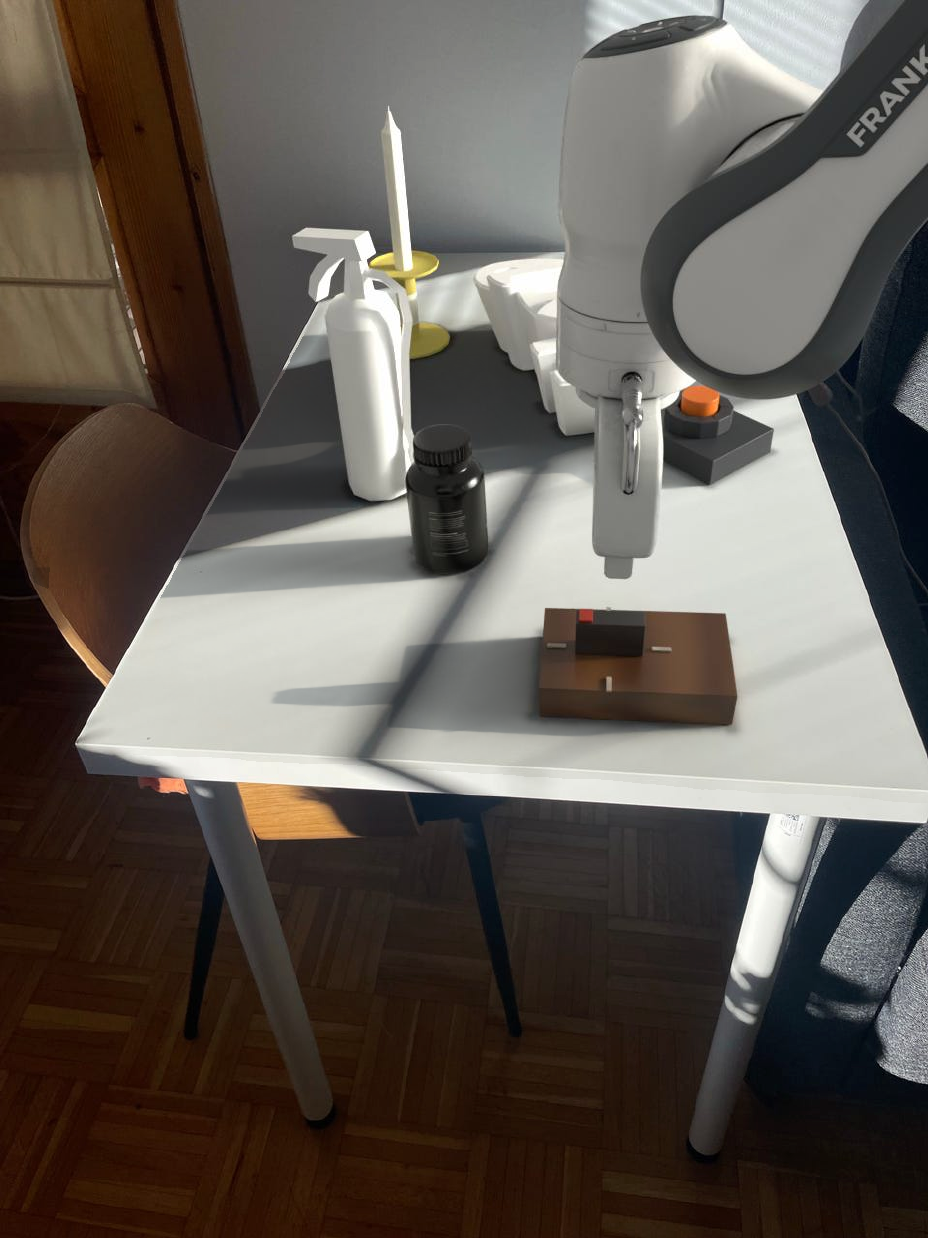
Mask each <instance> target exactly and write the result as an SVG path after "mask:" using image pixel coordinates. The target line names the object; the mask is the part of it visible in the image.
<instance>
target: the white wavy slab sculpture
mask: <svg viewBox="0 0 928 1238" xmlns="http://www.w3.org/2000/svg"><path fill="white" fill-rule="evenodd" d="M563 262H564V258H561V259H560V258H526V259H525V258H524V259H514V260H513V259H512V260H505V261H497V262H493V263H490V264H487V265H485V266H483V267H481V268H480V269H478V270H477V272H475V273H474V275H473V278H472V279H473V282H474V285H475V287H476V290H477V293H478V295H479V299H480V301H481V303H482V305H483V308H484V311H485V313H486V315H487V318H488V321H489V323H490V325H491V328H492V330H493V333H494V336H495V338H496V341H497V343H498V346H499V348H500V349H501V351H503V352H505V353H507V354H508V358H509V361H510V363H511V365H513V366H514V367H515V368H517V369H519V370H520V371H532V370H534V372H535V374H536V377H537V382H538V386H539V391H540V396H541V400H542V403H543V407H544V409H545V410H546V411H547V412H548V413H549V414H552V413H556V418H557V419H556V420H557V423H558V424H557V425H558V427H559V429H560V431H561V432H562V433H563V434H564V435H565V436H567V437H568V436H576V435H577V436H578V435H579V436H580V435H585V434H590V433H591V434H593V433H594V429H595V409H594V408H592V407H590V406H589V405H587V404H586V403H584V402H583V401H582V400H581V399H580V398H579V397H578V396H577V393H576V387H574V386H572V385H570V384H569V383H568V382H566V381H565V380H564V379H563V378H562V377H561V376H560V374H559V373H558V371H557V368H556V322H557V284H558V279H559V275H560V272H561V269H562V266H563Z"/></svg>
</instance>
